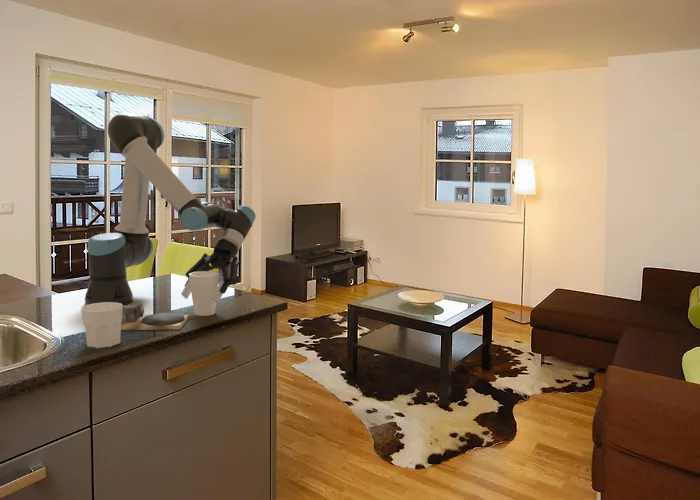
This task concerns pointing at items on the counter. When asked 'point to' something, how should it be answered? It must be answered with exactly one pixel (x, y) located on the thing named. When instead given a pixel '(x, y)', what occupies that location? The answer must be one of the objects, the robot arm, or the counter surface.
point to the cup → (102, 323)
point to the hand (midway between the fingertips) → (199, 298)
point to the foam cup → (203, 291)
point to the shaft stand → (150, 319)
